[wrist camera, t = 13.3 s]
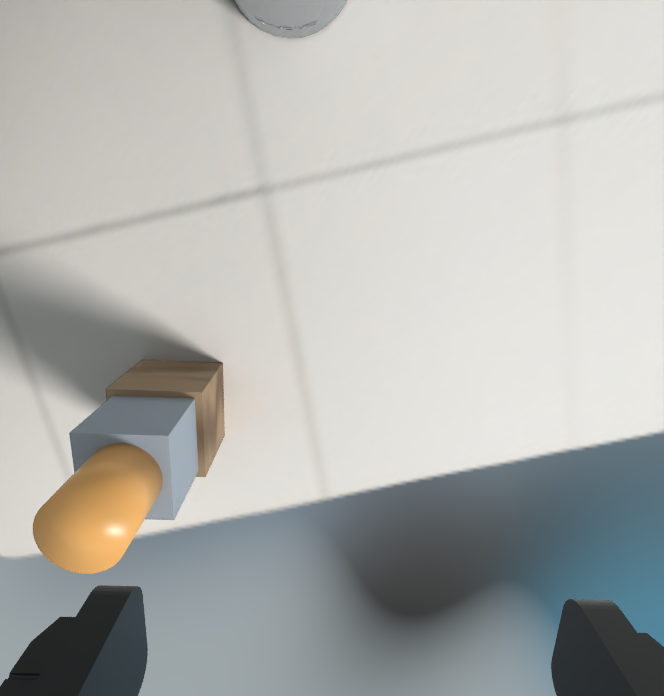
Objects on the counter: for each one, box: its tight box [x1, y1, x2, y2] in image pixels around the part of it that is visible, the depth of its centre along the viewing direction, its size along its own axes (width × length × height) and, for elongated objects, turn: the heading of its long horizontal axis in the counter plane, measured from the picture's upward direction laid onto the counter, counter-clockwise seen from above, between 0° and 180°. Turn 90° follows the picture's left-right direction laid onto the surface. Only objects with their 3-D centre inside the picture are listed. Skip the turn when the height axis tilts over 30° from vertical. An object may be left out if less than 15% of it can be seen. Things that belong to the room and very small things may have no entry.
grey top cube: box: [69, 396, 198, 520], centre depth 33 cm, size 6×6×6 cm
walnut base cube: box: [106, 360, 225, 477], centre depth 39 cm, size 7×7×7 cm
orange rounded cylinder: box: [33, 443, 163, 574], centre depth 27 cm, size 5×5×6 cm
